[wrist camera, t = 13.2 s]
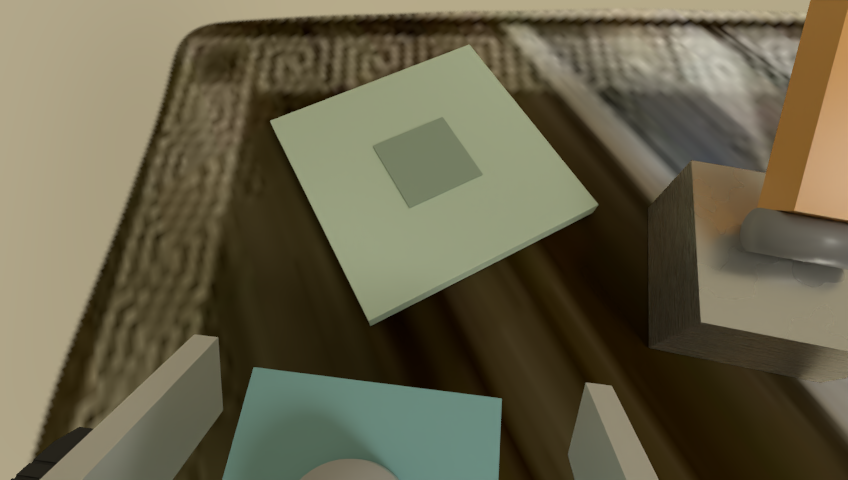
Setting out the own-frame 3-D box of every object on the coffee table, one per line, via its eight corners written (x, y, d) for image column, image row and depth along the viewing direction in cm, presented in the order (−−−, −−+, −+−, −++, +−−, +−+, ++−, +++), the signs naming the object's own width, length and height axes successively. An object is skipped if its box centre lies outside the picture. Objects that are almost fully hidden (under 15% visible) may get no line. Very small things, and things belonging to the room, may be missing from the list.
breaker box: (820, 382, 19) (915, 364, 15) (648, 347, 19) (700, 322, 16) (795, 231, 22) (869, 186, 18) (647, 205, 23) (691, 156, 19)
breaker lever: (891, 277, 15) (983, -37, 14) (766, 254, 15) (847, -54, 14) (842, 268, 17) (919, -7, 16) (732, 248, 17) (801, -23, 16)
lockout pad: (467, 55, 27) (469, 43, 26) (592, 213, 22) (599, 203, 22) (274, 130, 24) (269, 119, 24) (370, 326, 20) (368, 320, 19)
